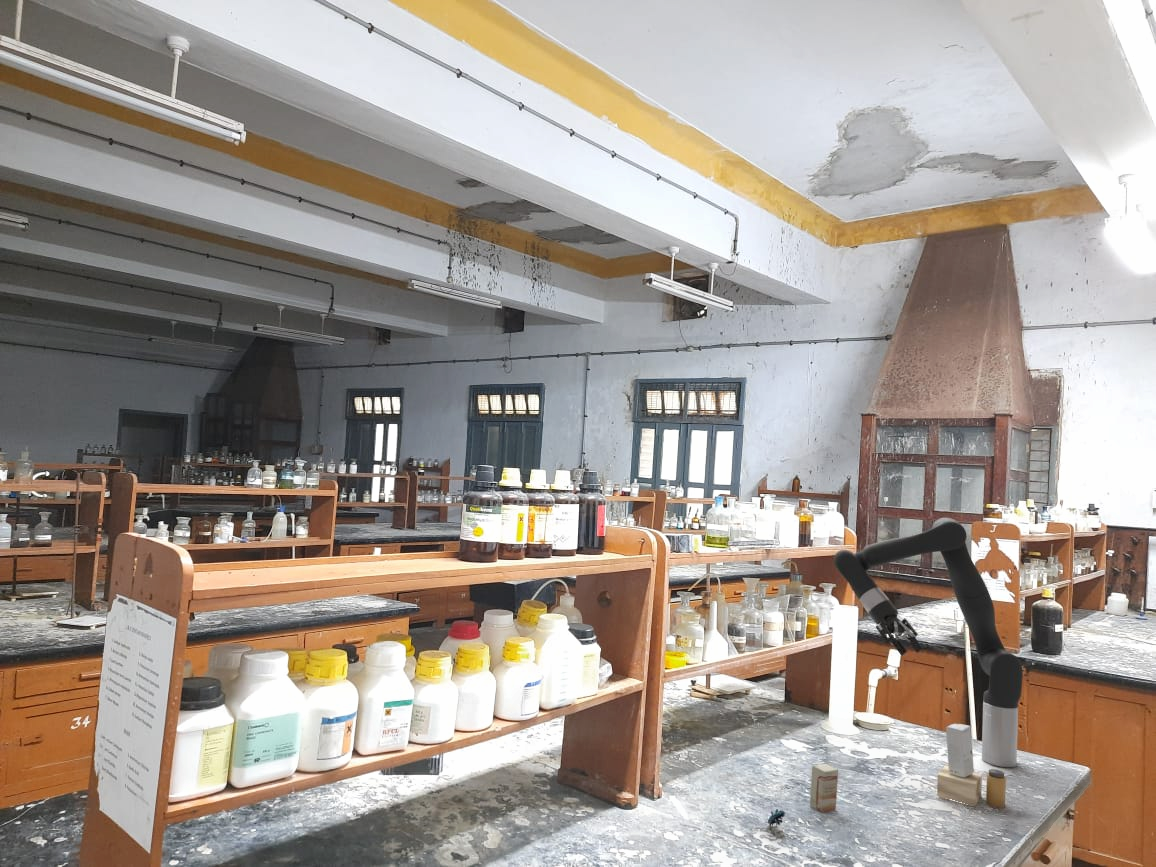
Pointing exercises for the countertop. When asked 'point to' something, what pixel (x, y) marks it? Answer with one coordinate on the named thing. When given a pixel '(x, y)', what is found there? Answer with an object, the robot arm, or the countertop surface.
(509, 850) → the countertop surface
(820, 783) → the skincare box
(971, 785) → the beech block
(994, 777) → the amber jar
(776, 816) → the sculpture
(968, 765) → the skincare box
